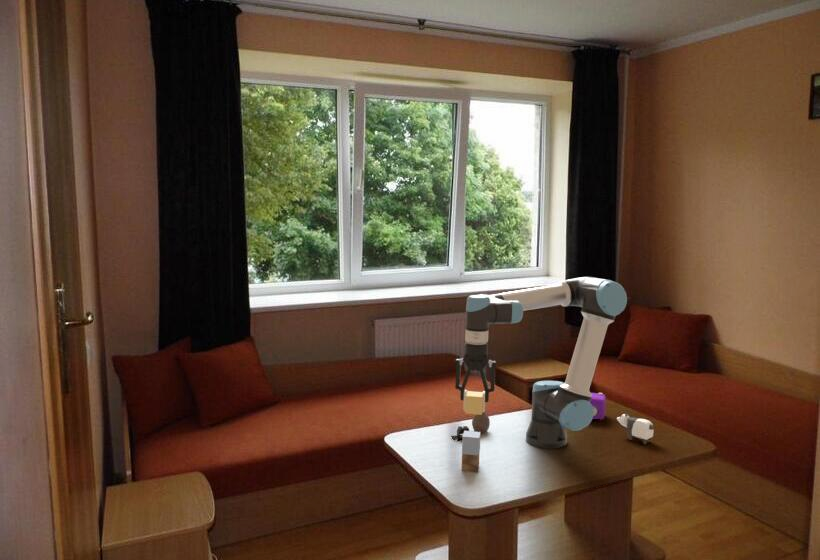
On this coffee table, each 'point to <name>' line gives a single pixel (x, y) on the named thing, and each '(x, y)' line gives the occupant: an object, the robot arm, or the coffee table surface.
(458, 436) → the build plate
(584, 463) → the coffee table surface
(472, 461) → the walnut brick
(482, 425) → the vase
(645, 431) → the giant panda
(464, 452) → the gray brick
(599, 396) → the toy camera
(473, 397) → the yellow cube
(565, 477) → the coffee table surface
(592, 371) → the robot arm
